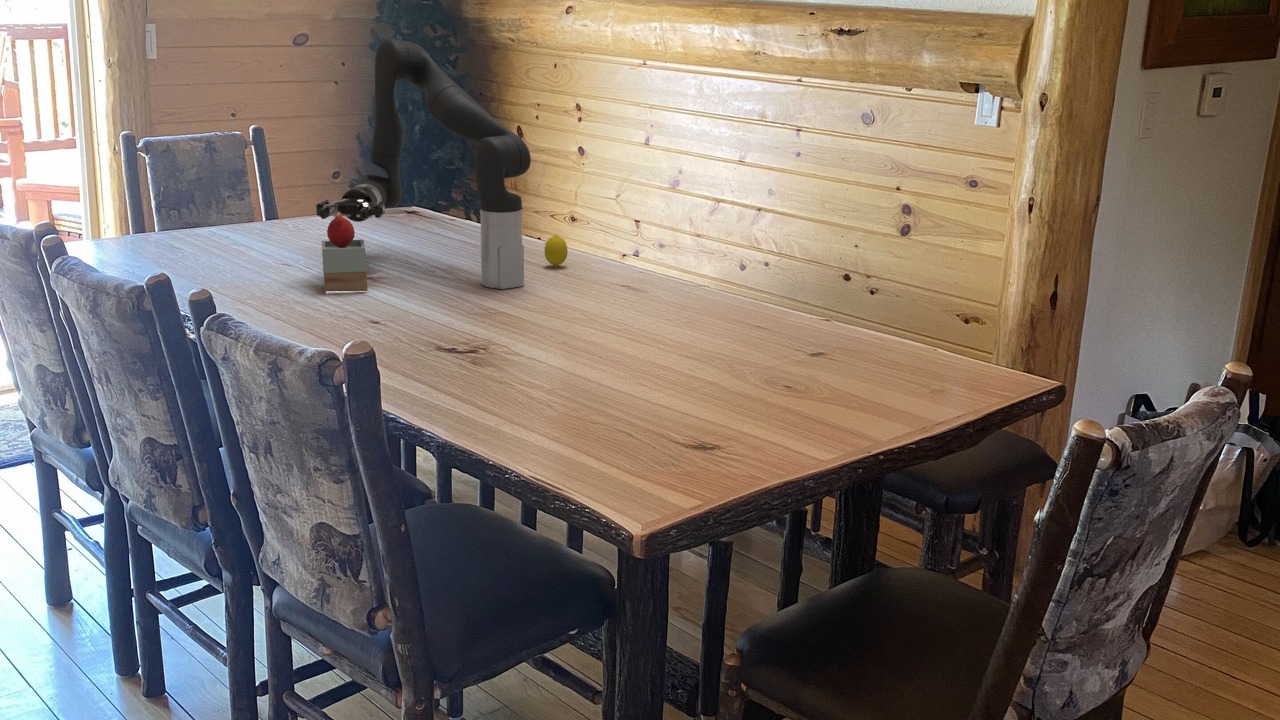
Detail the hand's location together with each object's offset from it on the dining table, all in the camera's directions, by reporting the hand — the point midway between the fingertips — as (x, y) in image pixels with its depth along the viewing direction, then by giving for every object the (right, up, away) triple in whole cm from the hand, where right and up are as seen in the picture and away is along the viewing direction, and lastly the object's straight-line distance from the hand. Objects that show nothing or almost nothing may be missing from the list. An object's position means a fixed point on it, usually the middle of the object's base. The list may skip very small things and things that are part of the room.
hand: (341, 214), depth 252 cm
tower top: (0, -11, +4) cm, 12 cm away
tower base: (0, -16, +5) cm, 17 cm away
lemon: (+44, -9, +30) cm, 54 cm away
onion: (0, -7, +3) cm, 8 cm away
